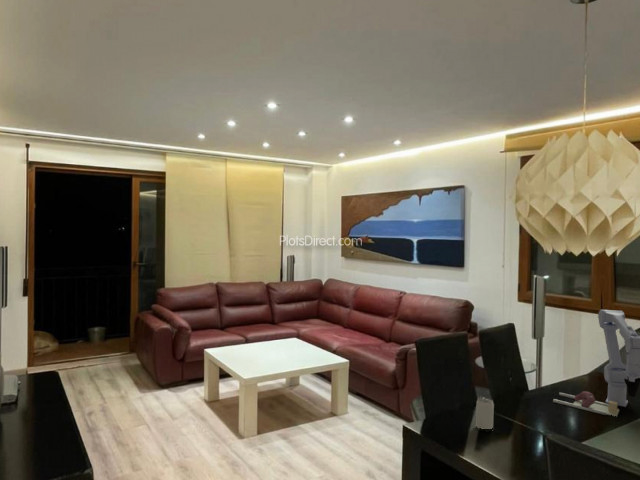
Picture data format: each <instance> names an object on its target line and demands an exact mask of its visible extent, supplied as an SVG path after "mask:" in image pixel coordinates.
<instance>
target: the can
mask: <svg viewBox="0 0 640 480" xmlns="http://www.w3.org/2000/svg"><path fill="white" fill-rule="evenodd" d="M494 408H495V404H494V400H493V398H492V397H488V396H478V397H477V400H476V407H475V427H476V426H477V427H478V428H481V429H492V428H493V429H494V413H495V411H494Z"/></svg>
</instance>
